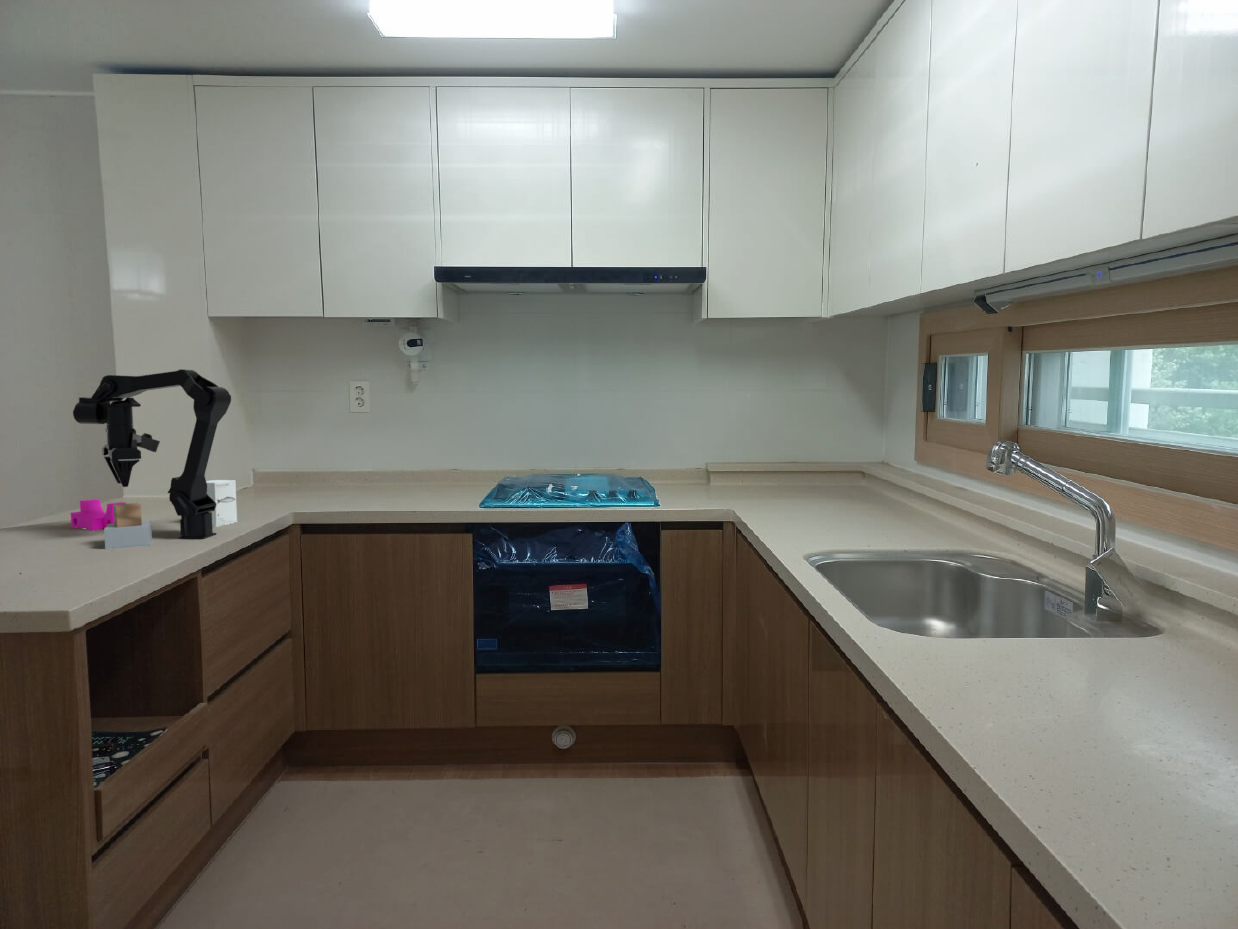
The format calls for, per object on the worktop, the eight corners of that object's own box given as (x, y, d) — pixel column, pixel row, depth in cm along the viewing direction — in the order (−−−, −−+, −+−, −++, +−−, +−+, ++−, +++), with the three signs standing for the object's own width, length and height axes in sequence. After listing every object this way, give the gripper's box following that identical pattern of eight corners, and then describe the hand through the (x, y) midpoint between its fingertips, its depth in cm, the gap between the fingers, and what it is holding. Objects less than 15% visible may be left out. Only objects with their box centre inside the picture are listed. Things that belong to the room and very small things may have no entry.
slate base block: (151, 540, 191) (150, 521, 191) (149, 546, 184) (148, 526, 183) (109, 543, 187) (108, 523, 187) (105, 550, 179) (104, 529, 179)
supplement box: (216, 528, 207) (214, 482, 206) (196, 526, 210) (193, 481, 208) (238, 524, 214) (236, 480, 213) (218, 522, 216) (216, 479, 215)
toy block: (71, 529, 207) (69, 501, 207) (96, 525, 213) (94, 499, 212) (103, 533, 201) (101, 505, 200) (127, 529, 206) (126, 502, 205)
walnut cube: (138, 522, 188) (137, 502, 188) (141, 525, 185) (140, 505, 184) (114, 524, 185) (113, 504, 185) (117, 527, 181) (116, 507, 181)
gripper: (163, 425, 191) (165, 486, 193) (149, 422, 206) (152, 479, 207) (110, 426, 184) (113, 489, 186) (100, 423, 198) (103, 482, 200)
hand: (122, 485), depth 195 cm, fingers open, 9 cm apart
